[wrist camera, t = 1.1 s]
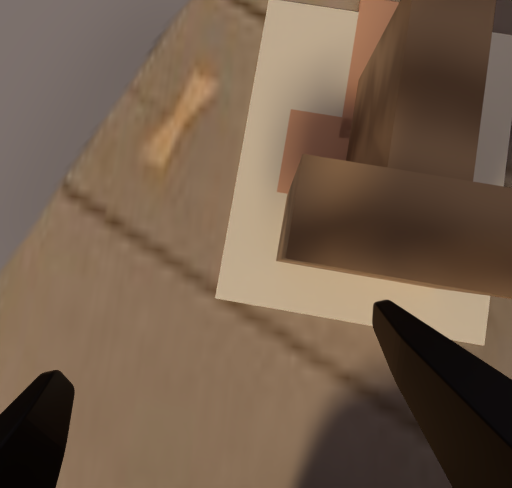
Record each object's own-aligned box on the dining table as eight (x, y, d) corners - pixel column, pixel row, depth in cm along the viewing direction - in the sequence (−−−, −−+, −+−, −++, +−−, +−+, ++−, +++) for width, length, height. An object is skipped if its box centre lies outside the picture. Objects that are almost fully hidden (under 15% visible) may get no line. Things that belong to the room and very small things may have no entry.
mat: (271, -14, 25) (271, -17, 25) (520, 24, 25) (524, 20, 24) (215, 297, 24) (215, 298, 23) (481, 344, 23) (484, 345, 23)
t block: (307, 71, 24) (335, -42, 15) (461, 95, 24) (582, -6, 15) (275, 260, 23) (285, 258, 14) (436, 288, 23) (548, 303, 14)
